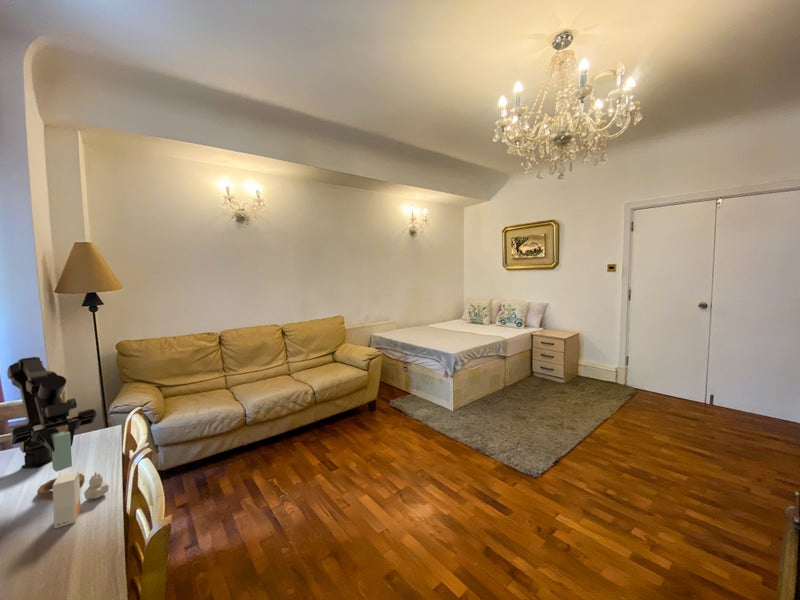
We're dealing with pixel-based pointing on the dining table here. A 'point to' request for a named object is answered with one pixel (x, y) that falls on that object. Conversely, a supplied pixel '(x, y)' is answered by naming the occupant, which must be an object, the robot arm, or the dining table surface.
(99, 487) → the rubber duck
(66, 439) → the green rectangular block
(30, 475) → the dining table surface
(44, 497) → the walnut ring
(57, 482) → the skincare box
